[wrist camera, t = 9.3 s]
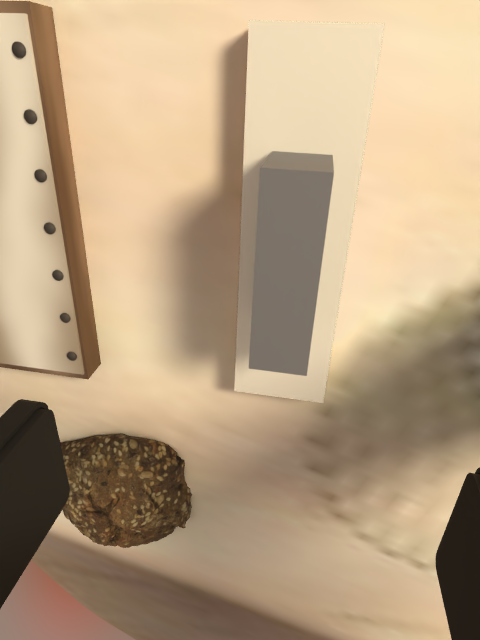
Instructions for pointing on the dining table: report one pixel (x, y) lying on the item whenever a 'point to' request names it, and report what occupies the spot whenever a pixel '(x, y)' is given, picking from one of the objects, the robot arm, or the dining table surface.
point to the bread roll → (125, 489)
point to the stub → (299, 196)
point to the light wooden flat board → (39, 208)
